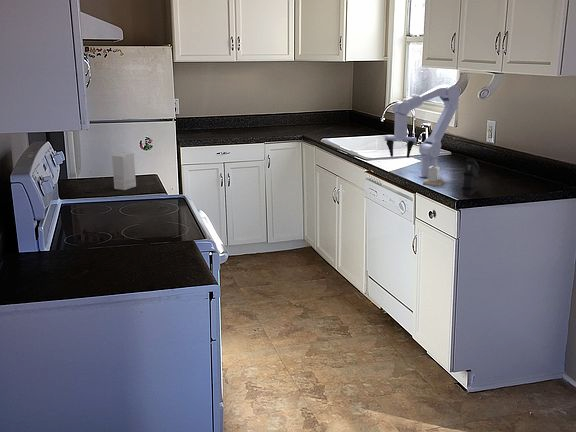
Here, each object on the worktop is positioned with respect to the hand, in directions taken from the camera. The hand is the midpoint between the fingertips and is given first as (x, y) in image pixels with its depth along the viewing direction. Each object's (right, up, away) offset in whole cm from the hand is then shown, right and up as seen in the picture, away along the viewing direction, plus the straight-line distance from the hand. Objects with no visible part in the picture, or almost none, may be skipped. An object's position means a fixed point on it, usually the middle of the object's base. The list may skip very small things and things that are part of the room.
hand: (399, 156), depth 308 cm
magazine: (+25, -18, -29) cm, 42 cm away
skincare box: (-126, -15, -9) cm, 127 cm away
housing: (+14, -11, -9) cm, 20 cm away
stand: (+14, -13, -9) cm, 21 cm away
